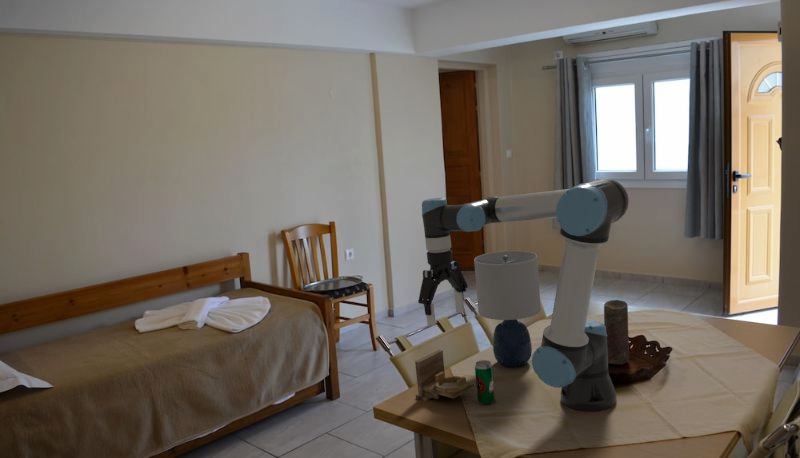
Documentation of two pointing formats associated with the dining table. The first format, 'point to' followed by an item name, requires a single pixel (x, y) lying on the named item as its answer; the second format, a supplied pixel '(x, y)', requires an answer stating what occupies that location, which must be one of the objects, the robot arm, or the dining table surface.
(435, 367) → the bracket
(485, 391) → the soda can
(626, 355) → the candle
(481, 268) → the lamp
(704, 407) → the dining table surface
